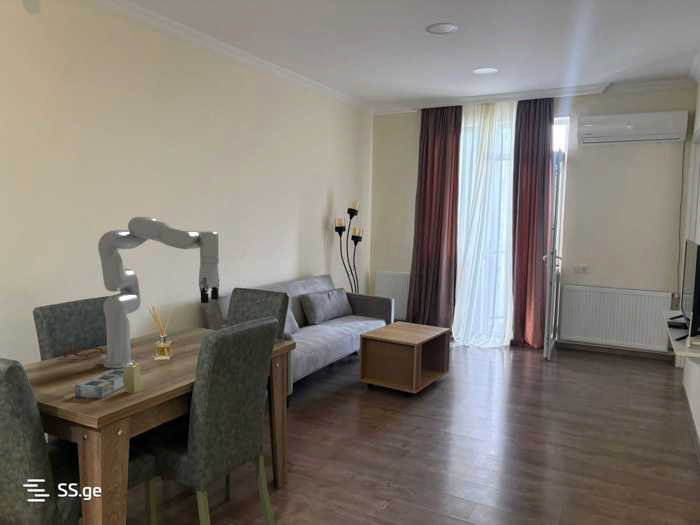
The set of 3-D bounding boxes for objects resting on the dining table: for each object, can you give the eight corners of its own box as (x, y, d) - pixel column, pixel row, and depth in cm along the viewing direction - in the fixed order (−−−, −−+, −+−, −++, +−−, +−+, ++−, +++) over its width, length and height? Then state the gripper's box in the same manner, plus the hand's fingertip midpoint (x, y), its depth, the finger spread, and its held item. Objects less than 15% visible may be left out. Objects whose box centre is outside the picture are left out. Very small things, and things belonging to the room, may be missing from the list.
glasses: (79, 352, 257) (78, 342, 257) (105, 353, 257) (104, 342, 256) (63, 359, 244) (62, 348, 244) (90, 360, 243) (90, 349, 243)
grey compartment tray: (75, 397, 191) (74, 385, 191) (113, 379, 213) (112, 368, 213) (99, 399, 190) (99, 387, 189) (135, 381, 211) (135, 370, 211)
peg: (124, 392, 198) (124, 366, 197) (131, 389, 202) (130, 363, 201) (134, 393, 197) (133, 367, 196) (140, 389, 201) (140, 364, 200)
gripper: (210, 259, 230) (210, 298, 232) (191, 262, 213) (191, 304, 215) (226, 259, 229) (226, 298, 230) (208, 262, 212) (209, 304, 213)
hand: (209, 301), depth 223 cm, fingers open, 9 cm apart
